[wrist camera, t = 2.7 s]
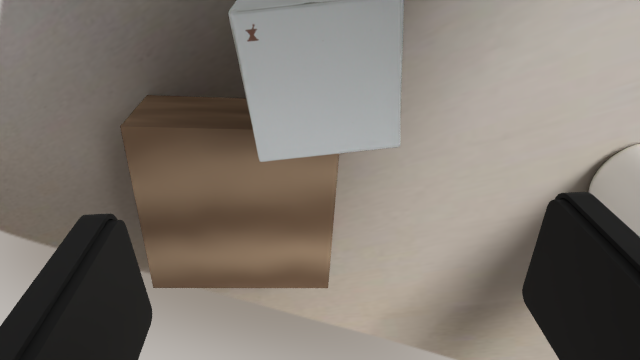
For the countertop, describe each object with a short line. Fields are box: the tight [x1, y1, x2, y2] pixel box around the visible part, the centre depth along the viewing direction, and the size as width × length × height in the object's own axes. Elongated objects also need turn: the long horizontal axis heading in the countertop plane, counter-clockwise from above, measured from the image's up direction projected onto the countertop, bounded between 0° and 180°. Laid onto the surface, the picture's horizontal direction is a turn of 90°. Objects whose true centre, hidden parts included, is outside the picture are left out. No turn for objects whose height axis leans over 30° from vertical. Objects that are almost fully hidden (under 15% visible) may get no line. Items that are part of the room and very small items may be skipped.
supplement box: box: [228, 0, 404, 162], centre depth 24 cm, size 7×7×13 cm
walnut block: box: [120, 95, 339, 288], centre depth 34 cm, size 14×14×6 cm
